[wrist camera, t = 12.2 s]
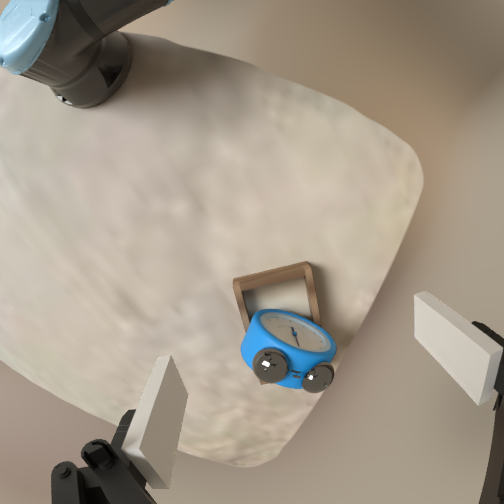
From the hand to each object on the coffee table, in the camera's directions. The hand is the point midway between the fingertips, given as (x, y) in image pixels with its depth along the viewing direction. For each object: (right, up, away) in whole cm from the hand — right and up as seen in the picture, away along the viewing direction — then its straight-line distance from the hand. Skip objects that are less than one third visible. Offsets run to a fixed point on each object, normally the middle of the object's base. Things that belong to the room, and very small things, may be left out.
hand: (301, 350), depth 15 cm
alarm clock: (+3, -7, +36) cm, 37 cm away
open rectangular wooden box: (+3, -7, +37) cm, 38 cm away
